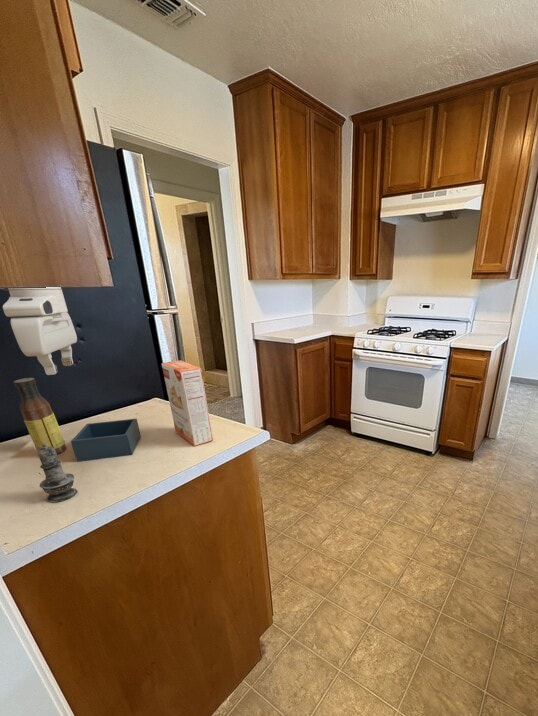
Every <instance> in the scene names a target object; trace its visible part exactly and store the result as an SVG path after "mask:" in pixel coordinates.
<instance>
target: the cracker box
mask: <svg viewBox="0 0 538 716" xmlns="http://www.w3.org/2000/svg"><path fill="white" fill-rule="evenodd" d="M161 368H162V373H163V377H164V382H165V387H166V392H167V396H168V402H169V406H170V410H171V416H172V420H173V425H174V430H175V432H176V433H177V434H178V435H179V436H180V437H182V438H183V439H184V440H186V441H187V442H188V443H190V445H192V446H193V447H197V446H200V445H203V444H207V443H209V442H210V443H211V442H212V441H214V437H213V433H212V426H211V419H210V414H209V407H208V402H207V401H208V400H207V395H206V389H205V383H204V377H203V376H204V375H203V371H202V370H203V369H202V368H201V367H199V366H197V365H193V364H191V363H189V362H186V361H183V360H181V359H180V360H174V361H166V362H162V363H161Z"/></svg>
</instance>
